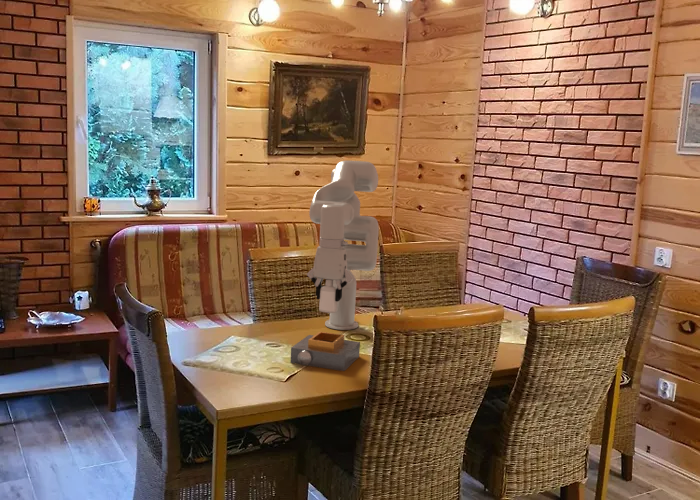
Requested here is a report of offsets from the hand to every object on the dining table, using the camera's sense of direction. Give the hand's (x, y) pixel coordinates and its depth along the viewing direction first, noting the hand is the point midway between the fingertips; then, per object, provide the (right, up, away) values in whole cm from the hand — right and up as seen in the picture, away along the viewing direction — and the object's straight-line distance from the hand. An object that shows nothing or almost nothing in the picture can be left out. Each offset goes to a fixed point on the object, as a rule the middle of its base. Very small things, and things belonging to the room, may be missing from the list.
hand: (328, 298), depth 231 cm
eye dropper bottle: (0, -4, +1) cm, 4 cm away
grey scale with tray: (-1, -20, +3) cm, 20 cm away
